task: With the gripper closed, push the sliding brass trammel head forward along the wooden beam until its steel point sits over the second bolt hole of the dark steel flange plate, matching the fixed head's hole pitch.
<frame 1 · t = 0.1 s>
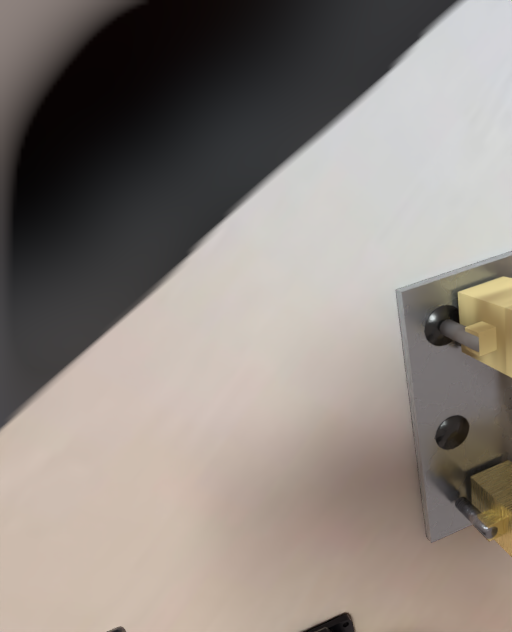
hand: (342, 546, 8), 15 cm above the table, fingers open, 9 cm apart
flange plate: (482, 400, 28), on the table
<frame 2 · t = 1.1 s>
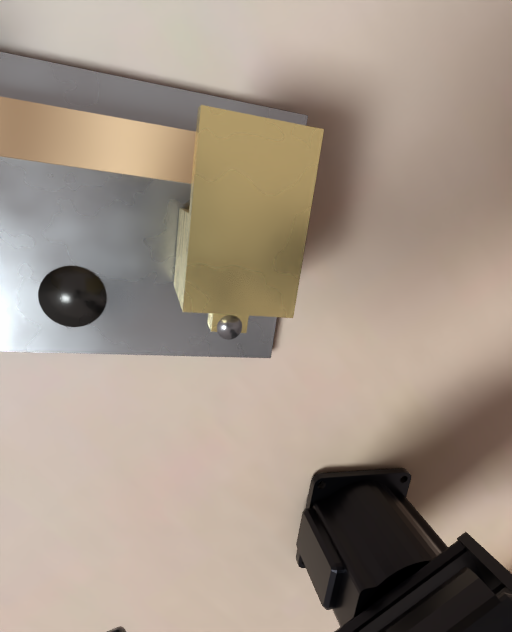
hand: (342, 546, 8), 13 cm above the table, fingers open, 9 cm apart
sliding head: (236, 236, 16), point 3 cm above the table, slide at 0.0 cm
divider beam: (49, 138, 16), resting on flange plate
flange plate: (49, 219, 17), on the table
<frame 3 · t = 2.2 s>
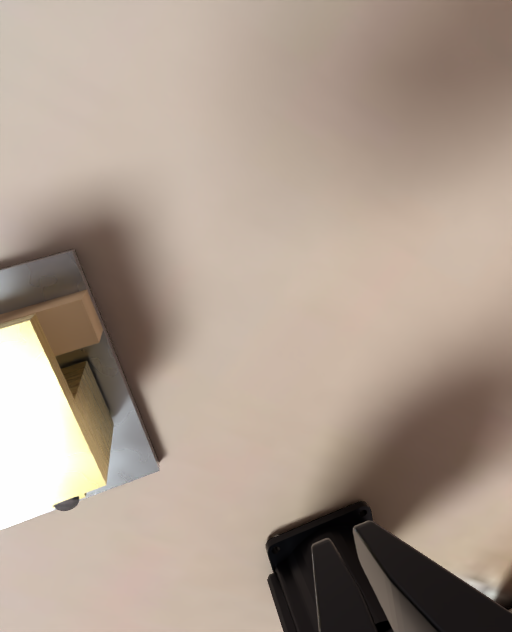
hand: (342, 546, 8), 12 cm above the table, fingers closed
sliding head: (32, 416, 15), point 3 cm above the table, slide at 0.0 cm
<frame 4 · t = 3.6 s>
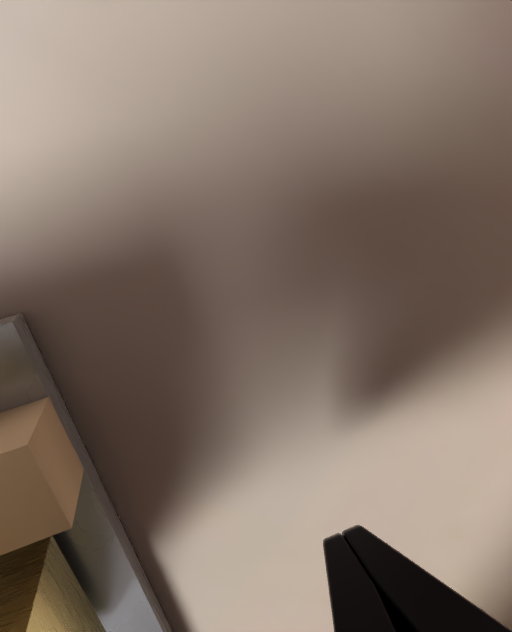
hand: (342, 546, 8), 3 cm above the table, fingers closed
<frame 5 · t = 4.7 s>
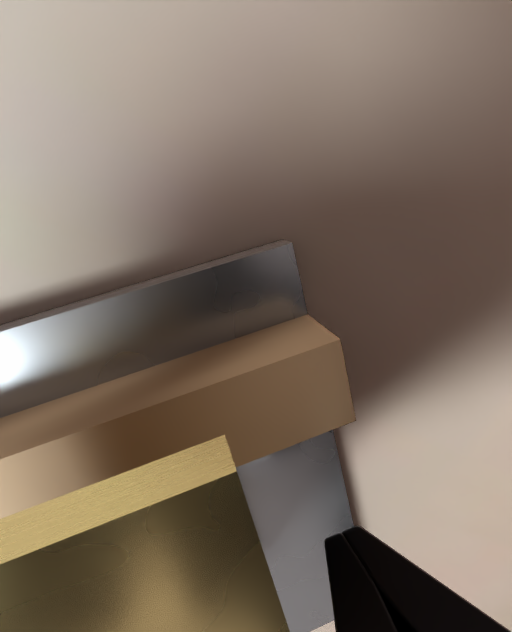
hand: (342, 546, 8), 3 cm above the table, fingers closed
sliding head: (161, 611, 7), point 3 cm above the table, slide at 1.5 cm, touching gripper
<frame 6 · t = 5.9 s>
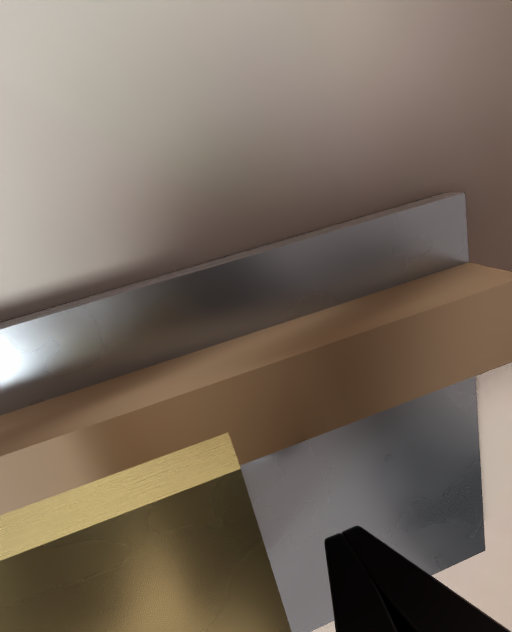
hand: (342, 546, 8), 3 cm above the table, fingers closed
sliding head: (161, 610, 7), point 3 cm above the table, slide at 5.5 cm, touching gripper
divider beam: (51, 428, 9), resting on flange plate
flange plate: (102, 530, 10), on the table
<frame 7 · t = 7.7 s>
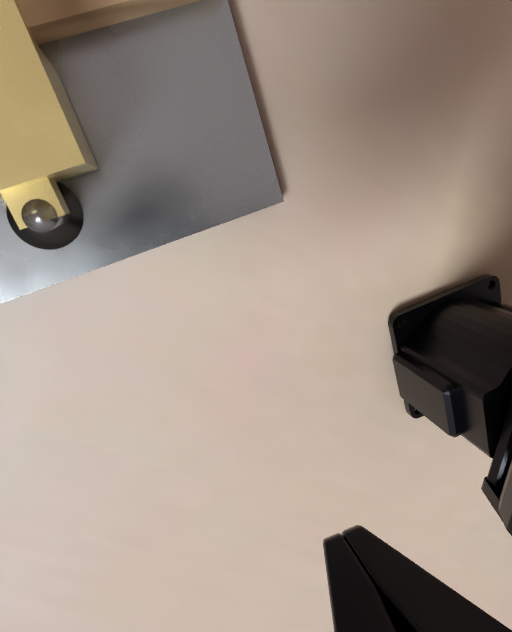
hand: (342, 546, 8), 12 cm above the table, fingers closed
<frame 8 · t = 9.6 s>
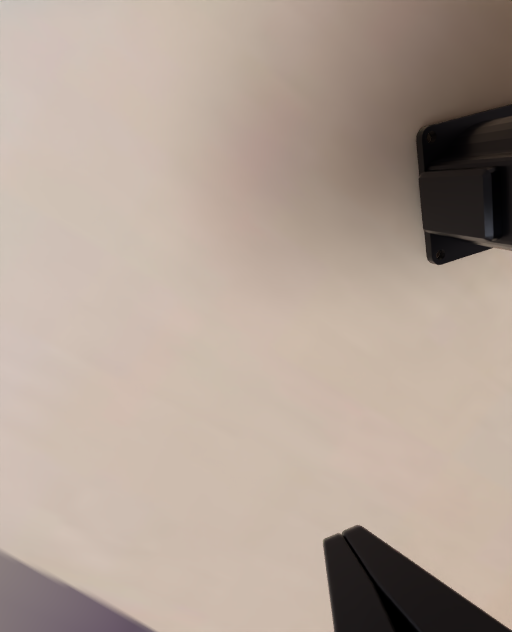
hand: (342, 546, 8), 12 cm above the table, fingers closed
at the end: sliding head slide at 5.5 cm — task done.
